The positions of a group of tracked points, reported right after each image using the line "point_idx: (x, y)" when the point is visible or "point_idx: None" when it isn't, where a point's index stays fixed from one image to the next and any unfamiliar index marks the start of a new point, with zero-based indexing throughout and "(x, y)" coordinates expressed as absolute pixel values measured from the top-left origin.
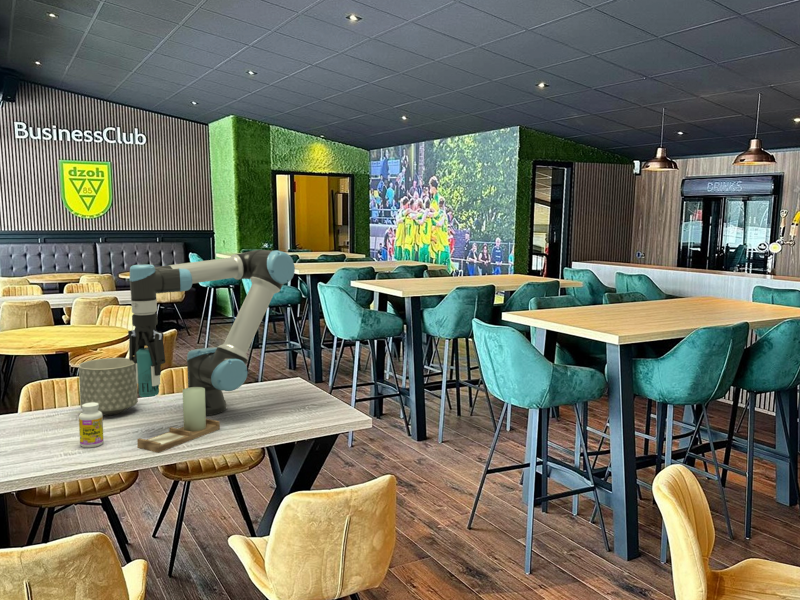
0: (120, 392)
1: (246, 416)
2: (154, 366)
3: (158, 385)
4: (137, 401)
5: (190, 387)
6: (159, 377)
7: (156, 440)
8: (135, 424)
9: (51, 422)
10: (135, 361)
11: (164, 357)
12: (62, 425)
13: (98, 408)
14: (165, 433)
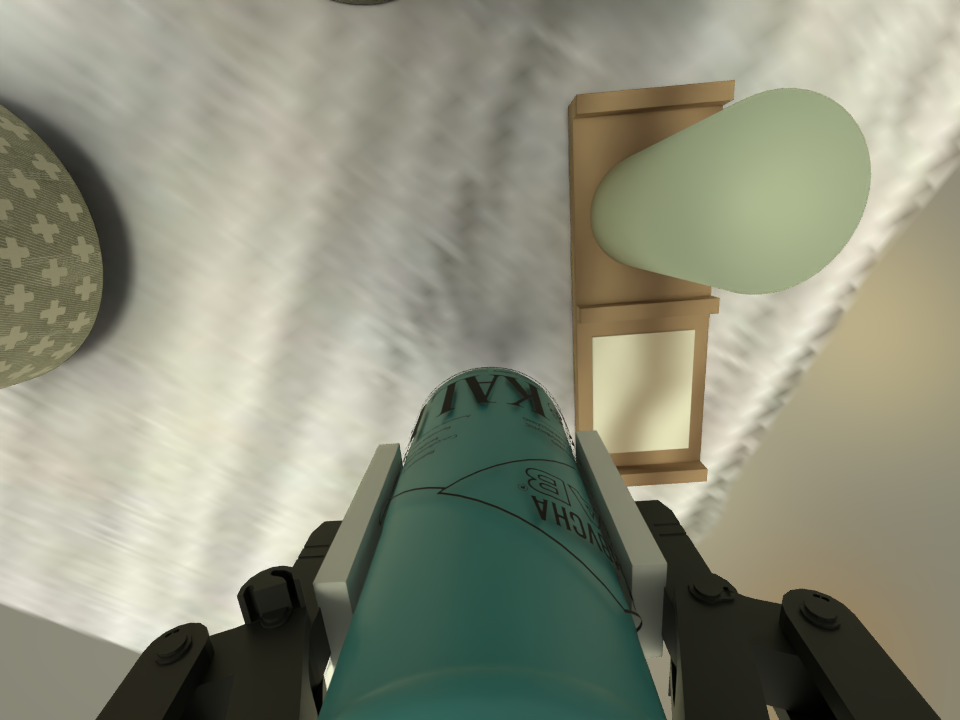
0: (5, 278)
1: None
2: (661, 626)
3: (549, 410)
4: (12, 115)
5: (685, 158)
6: (613, 469)
7: (631, 430)
8: (296, 294)
9: (4, 476)
10: (317, 696)
11: (908, 690)
12: (80, 473)
13: (52, 364)
14: (583, 346)
